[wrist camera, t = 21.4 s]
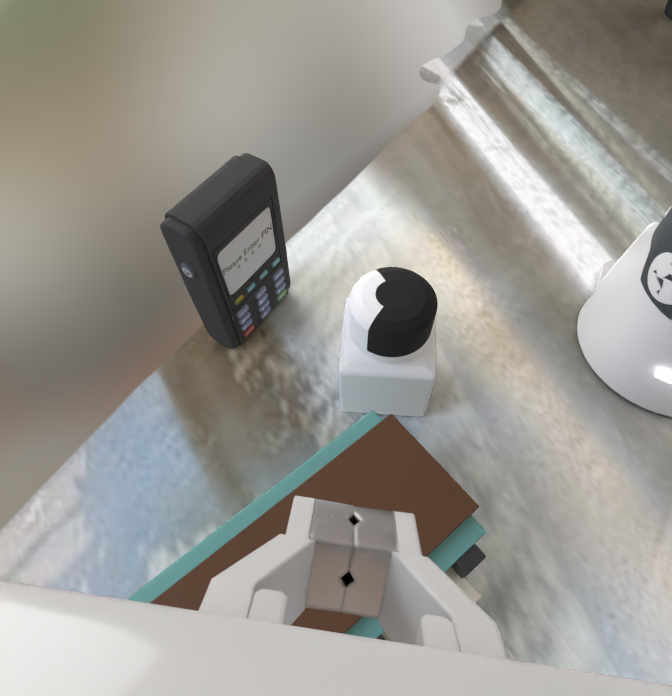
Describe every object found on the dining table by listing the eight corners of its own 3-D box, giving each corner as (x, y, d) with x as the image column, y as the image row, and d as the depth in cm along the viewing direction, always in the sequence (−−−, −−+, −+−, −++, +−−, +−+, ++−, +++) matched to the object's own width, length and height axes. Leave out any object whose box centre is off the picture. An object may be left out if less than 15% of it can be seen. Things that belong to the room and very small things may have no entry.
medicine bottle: (423, 346, 45) (445, 256, 35) (424, 418, 41) (449, 342, 31) (345, 341, 46) (344, 252, 35) (339, 412, 42) (336, 335, 32)
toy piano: (460, 570, 35) (508, 536, 25) (266, 760, 30) (222, 819, 19) (370, 466, 39) (378, 399, 29) (185, 617, 34) (113, 602, 24)
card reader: (236, 359, 45) (192, 242, 32) (203, 338, 46) (148, 218, 33) (297, 292, 49) (279, 164, 36) (265, 274, 50) (236, 145, 37)
